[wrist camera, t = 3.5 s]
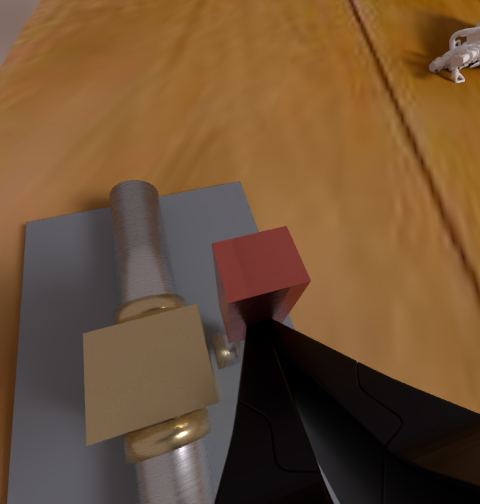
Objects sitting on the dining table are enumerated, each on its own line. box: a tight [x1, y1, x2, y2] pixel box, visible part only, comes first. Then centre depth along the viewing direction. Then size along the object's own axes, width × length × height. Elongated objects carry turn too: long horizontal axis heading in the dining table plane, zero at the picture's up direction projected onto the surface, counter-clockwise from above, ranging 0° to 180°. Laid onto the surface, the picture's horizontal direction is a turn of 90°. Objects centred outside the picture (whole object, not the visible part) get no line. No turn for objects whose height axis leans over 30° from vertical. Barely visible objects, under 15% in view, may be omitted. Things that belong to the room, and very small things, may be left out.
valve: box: [83, 180, 221, 504], centre depth 15 cm, size 26×6×5 cm, turn 16°
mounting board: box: [7, 181, 340, 504], centre depth 18 cm, size 28×18×1 cm, turn 16°
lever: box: [210, 226, 311, 370], centre depth 12 cm, size 2×3×12 cm
